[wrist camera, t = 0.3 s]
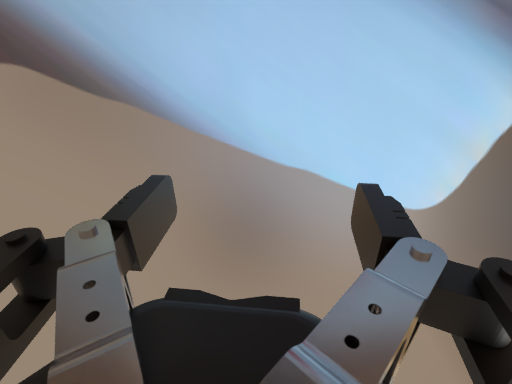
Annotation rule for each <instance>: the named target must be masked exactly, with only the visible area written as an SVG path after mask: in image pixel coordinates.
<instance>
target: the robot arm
mask: <svg viewBox="0 0 512 384" xmlns="http://www.w3.org/2000/svg"><path fill="white" fill-rule="evenodd" d="M176 213H177V205H176V199H175V194H174V189H173V183H172V179H171V177H170V176H169V175H151V176H150V177H149V178H148V179H147V180H146V181H145V182H144V183H143V184H142V185H139V186H138V187H136V188H134V189H132V190H130V191H129V192H128V193H127V194H126V195H125V196H124V197H123V198H122V199H121V200H120V201H119V202H118V204H116V205H115V206H113V207H112V208H111V209H110V210H109V211H108V212H107V213H106V214H105V215H104V216H103V217H102V218H101V219H93V220H89V221H84V222H82V223H79V224H77V225H75V226H73V227H72V228H71V229H69V230H68V231H67V233H66V235H65V237H58V238H51V239H45V238H44V236H43V234H42V232H41V230H39V229H38V228H23V229H19V230H15V231H12V232H10V233H7V234H5V235H3V236H2V237H0V293H1V292H2V291H3V290H4V289H5V288H6V287H7V286H8V285H9V284H10V283H12V284H13V286H14V288H15V289H16V291H17V293H18V295H17V296H16V297H15V298H14V299H13V300H12V301H11V302H10V303H9V304H8V305H7V306H6V307H5V308H4V309H3V310H2V311H1V312H0V381H1V379H2V378H3V377H4V376H5V374H6V373H7V372H8V370H9V369H10V368H11V367H12V365H13V364H14V363H15V362H16V360H17V359H18V358H19V356H20V355H21V354H22V353H23V351H24V350H25V349H26V348H27V346H28V345H29V344H30V342H31V341H32V340H33V339H34V337H35V336H36V335H37V334H38V332H39V331H40V330H41V328H42V327H43V326H44V325H45V323H46V322H47V321H48V319H49V318H50V317H51V316H52V314H53V313H54V312H55V311H56V327H55V357H54V360H53V361H52V362H50V363H49V364H47V365H46V366H44V367H43V368H41V369H40V370H38V371H37V372H35V373H34V374H32V375H31V376H29V377H28V378H26V379H25V380H23V381H22V382H20V383H19V384H392V382H393V380H394V378H395V375H396V373H397V371H398V369H399V367H400V365H401V363H402V361H403V359H404V357H405V355H406V353H407V351H408V349H409V347H410V345H411V343H412V341H413V339H414V337H415V335H416V334H417V332H418V329H419V328H420V326H421V324H422V323H423V324H425V325H428V326H431V327H434V328H437V329H440V330H442V331H446V332H448V333H451V334H452V337H453V339H454V341H455V343H456V346H457V348H458V350H459V352H460V355H461V357H462V359H463V361H464V364H465V366H466V368H467V370H468V373H469V375H470V377H471V379H472V381H473V384H512V261H511V260H508V259H503V258H495V257H492V258H486V259H484V260H483V261H482V262H481V265H480V266H479V268H475V267H471V266H467V265H463V264H460V263H456V262H453V261H450V260H448V259H447V255H446V253H445V252H444V251H443V250H442V249H441V248H440V247H439V246H437V245H436V244H434V243H432V242H430V241H428V240H425V239H422V238H421V236H420V234H419V233H418V231H417V229H416V228H415V226H414V225H413V223H412V221H411V220H410V219H409V216H408V215H407V213H405V210H404V208H403V206H402V205H401V203H400V202H398V201H397V200H395V199H394V198H393V197H391V196H384V194H383V192H382V190H381V188H380V187H379V185H378V184H368V183H358V185H357V188H356V193H355V198H354V204H353V210H352V216H351V228H352V232H353V236H354V239H355V243H356V246H357V249H358V253H359V256H360V260H361V263H362V267H363V270H364V272H363V273H362V274H361V275H360V276H359V278H358V279H357V280H356V281H355V282H354V283H353V284H352V286H351V287H350V288H349V289H348V290H347V292H346V293H345V294H344V295H343V296H342V297H341V298H340V299H339V301H338V302H337V303H336V304H335V305H334V307H333V308H332V309H331V310H330V311H329V312H328V313H327V315H326V316H325V317H324V318H323V319H320V318H318V317H317V316H315V315H313V314H311V313H308V312H306V311H303V310H300V299H298V298H286V297H274V296H261V297H254V298H246V299H238V300H228V299H225V298H222V297H219V296H216V295H213V294H210V293H207V292H203V291H201V290H190V289H178V288H169V289H168V291H167V293H166V295H165V297H164V298H161V299H156V300H152V301H149V302H147V303H144V304H141V305H139V306H137V307H135V306H134V302H133V298H132V294H131V291H130V287H129V283H128V280H127V276H126V274H127V272H128V271H129V270H132V271H142V270H143V268H144V267H145V265H146V264H147V262H148V260H149V259H150V257H151V256H152V254H153V252H154V251H155V250H156V248H157V246H158V245H159V243H160V242H161V240H162V239H163V237H164V235H165V234H166V232H167V231H168V229H169V228H170V226H171V224H172V223H173V221H174V220H175V217H176Z"/></svg>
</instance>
